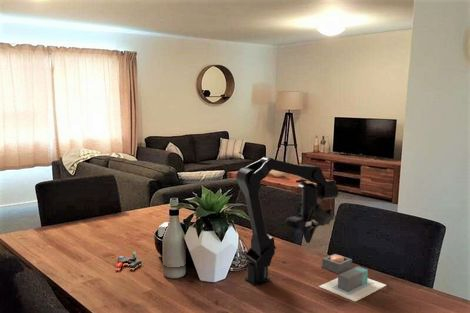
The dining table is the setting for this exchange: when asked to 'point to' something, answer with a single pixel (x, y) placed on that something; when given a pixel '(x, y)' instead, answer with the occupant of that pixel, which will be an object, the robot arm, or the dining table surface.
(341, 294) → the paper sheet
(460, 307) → the dining table surface
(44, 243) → the dining table surface
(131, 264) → the grey and red toy
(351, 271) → the grey and teal block
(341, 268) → the button housing
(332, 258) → the button
